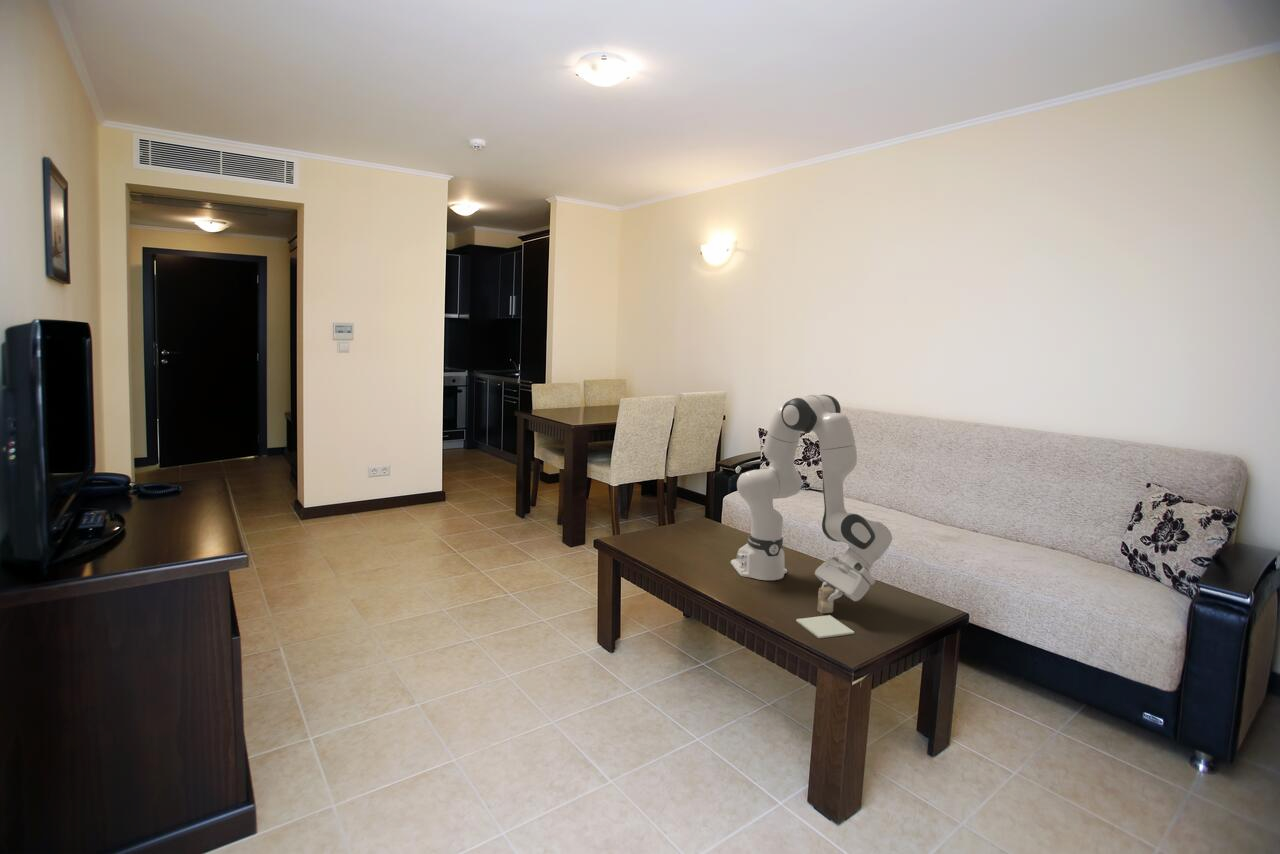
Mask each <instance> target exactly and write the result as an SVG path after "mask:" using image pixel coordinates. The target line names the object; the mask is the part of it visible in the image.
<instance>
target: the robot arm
mask: <svg viewBox="0 0 1280 854" xmlns="http://www.w3.org/2000/svg"><path fill="white" fill-rule="evenodd" d="M841 411H842V410H841V404H840V403H839V400H837V398H835V397H834V396H832V395H828V394H812V395H810V394H809V395H807V396H801V397H794V398H792V399H790V400H788V401H787V402H785V403H784V404H782V405H779V406H778V407H777V409H776V410H775V412H774V414H773V416H772V418H771V420H770V423H769V426H768V430H767V434H766V436H765V440H764V444H763V448H762V449H763V450H762V451H763V452H762V453H763V455H764V457H765V458H766V459H767V460H768V461H770V463H769V467H768V468H761V469H753V470H748V471H746V472H743V473H740V475H739V477H738V478H737V481H736V488H737V489H736V490H737V493H738V494H739V496H740V497H741V498H742V499H743V500H744V501H745V502H746V503H747V505H748V508H749V510H750V517H751V524H750V525H751V526H750V527H751V528H750V533H748V534H747V537H748V539H747V543H746V544H744V545H743V546H742V547H740V548H739V549H738V551H737V553H736V558H734V559H731V560H730V564H731V565H732V567H733V568H734V570H736V572H737V573H738V575H740V576H741V577H745V578H752V579H756V580H761V581H776V580H777V581H778V580H781V579H783V578H784V576H785V574H787V572H788V570H787V568H785V567H786V566H785V550H783V544H784V537H783V524H784V523H783V522H784V518H783V515H782V514H781V512H779V511H778V510H776V509H774V508H775V507H774V503H773V500H778V499H786V498H790V497H792V496H796V495H798V494H799V492H800V491H801V489H802V487H803V486H802V484H803V481H802V477H801V474H800V473H799V472H798V471H797V469H796V466H795V457H796V453H797V448H798V445H799V441H800V438H801V434H802V432H803V433H808V434H809V433H810V432H814V434H815V435H816V436H817V439H818V445H819V453H820V459H821V467H822V468H821V470H822V472H821V473H822V476H821V477H822V490H823V502H824V503H823V504H824V511H823V517H822V522H821V527H822V528H821V529H822V532H823V533H824V535H825V537H826V538H827V539H828V540H830V541H833V542H841V543H845V544H846V545H848V549H847V550H846V551H845V552H844V553H843V554H842V555H841V557H840V558H838V557H837V556H834V557H830V558H828V559H826V560H825V561H823V563H822V564H821V565H819V566H818V567H817V568H816V569H815V570H814V575H815V576H816V578H817V579H818V580H819V581H821V582H822V584H821V587H820V588H823V587H831V588H833V589H834V590H835V592H834V593H833V594H831V595H830V594H829V595H828V596H827V597H826V600H827V601H828V602H830V603H832V602H833V601H835V600H837V599H839V598H842V596H843V595H844V596H845V597H847V598H848V599H850V600H852V601H853V602H857V601H860V600H861V599H862V598H863V597H864V596H865V595H866V593H868V591H869V589H870V586H873V585H874V584H875V583H876V580H875V578H874V576H873V575H872V574H871V573H870V570H871V569H872V567H873V565H874V563H875V562H876V561H878V560H879V559H880V558H881V557H882V556H883V555H884V554H885V552H886V551H888V549H889V547H890V546H891V544H892V541H893V536H892V533H891V532H890V530H889V528H888V527H887V526H886V525H884V524H883V523H881V522H880V521H873V520H870V519H867V518H865V517H863V516H862V515H860V514H857V513H853V512H847V510H846V508H845V501H844V500H845V497H844V487H843V486H844V481H845V480H846V477H848V475H850V473H851V472H853V471H854V470H855V468H856V467H857V464H858V463H857V462H858V460H857V459H858V453H857V446H856V440H855V437H854V432H853V429H852V425H851V423H850V421H849V418H848V417H847V416H846V415H845V414H843V413H841ZM817 594H819V591H818V592H817Z"/></svg>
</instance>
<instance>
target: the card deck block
mask: <svg viewBox="0 0 1280 854" xmlns="http://www.w3.org/2000/svg"><path fill="white" fill-rule="evenodd" d="M818 592H819V594H818V593H817V594H818V595H817V608H816V609H817V612H819V613H820V614H822V615H823V614H831V613H833V611H834V601H835V600H834V601H833V602H832V603H830V602H828V601H827V600H826V597H827V596H828V595H829V594H830V595H831V594H833V593H834V592H835V589H834V588H832V587H823V588H821V587H819V588H818Z"/></svg>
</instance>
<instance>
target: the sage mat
mask: <svg viewBox="0 0 1280 854" xmlns="http://www.w3.org/2000/svg"><path fill="white" fill-rule="evenodd" d="M795 621H796V622H797V623H798V624H799V625H801V626H802V627H803V628H804V629H806V630H807V631H809V633H811V634H812V635H814V636H815V637H816V638H818V639H825V638H833V637H840V636H848V635H854V634H855V631H854V630H853V629H850V628H849V627H848V626H846V625H845V624H844V623H842V622H841V621H839V620H838V619H836V618H835V617H833V615H830V614H828V615H820V616H819V615H818V616H813V617H805V618H797V619H795Z"/></svg>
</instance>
